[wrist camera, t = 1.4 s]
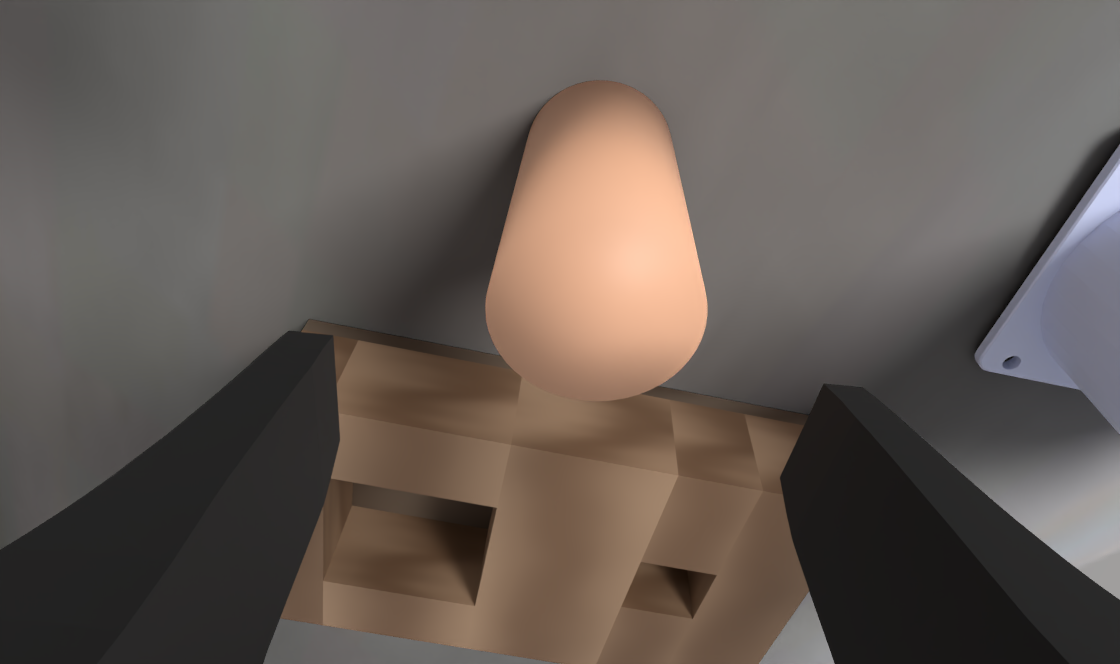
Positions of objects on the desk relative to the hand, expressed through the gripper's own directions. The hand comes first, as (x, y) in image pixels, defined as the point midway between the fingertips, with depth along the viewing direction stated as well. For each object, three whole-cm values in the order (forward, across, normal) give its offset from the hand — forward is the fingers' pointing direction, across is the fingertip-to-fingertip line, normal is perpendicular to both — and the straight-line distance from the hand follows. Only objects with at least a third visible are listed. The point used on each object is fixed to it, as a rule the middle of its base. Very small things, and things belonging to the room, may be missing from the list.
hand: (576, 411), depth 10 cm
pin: (+11, -1, 0) cm, 11 cm away
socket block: (+10, -1, +13) cm, 17 cm away
